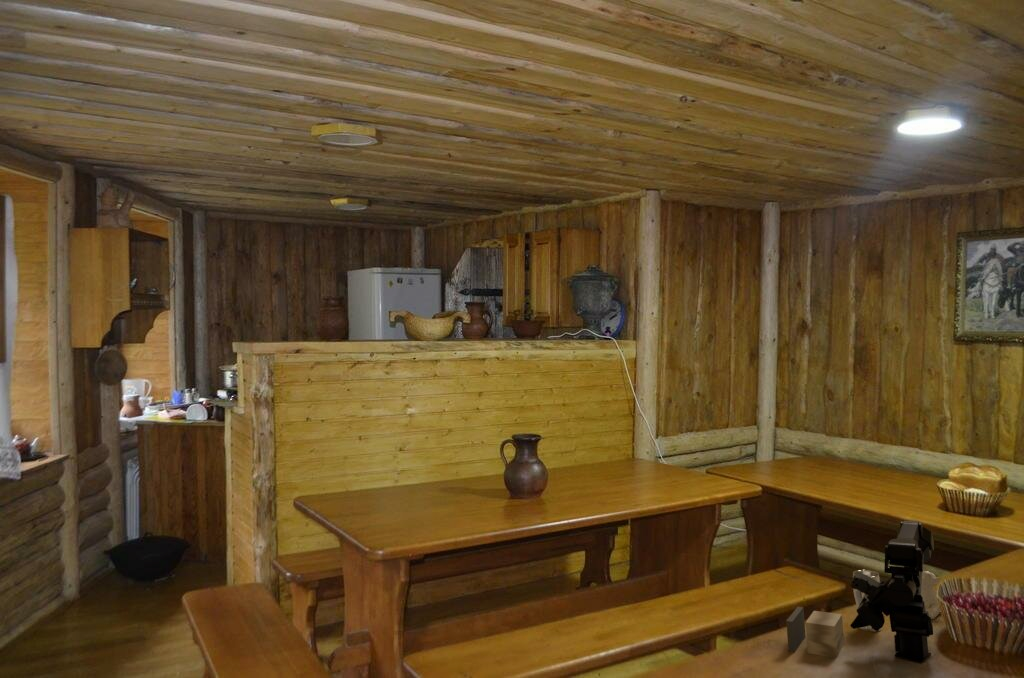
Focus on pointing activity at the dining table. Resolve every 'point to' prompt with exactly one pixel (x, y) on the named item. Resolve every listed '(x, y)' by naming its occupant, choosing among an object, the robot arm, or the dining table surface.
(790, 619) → the backstop board
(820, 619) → the maple block
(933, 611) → the sitting furry creature
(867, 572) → the beer glass
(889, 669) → the dining table surface
